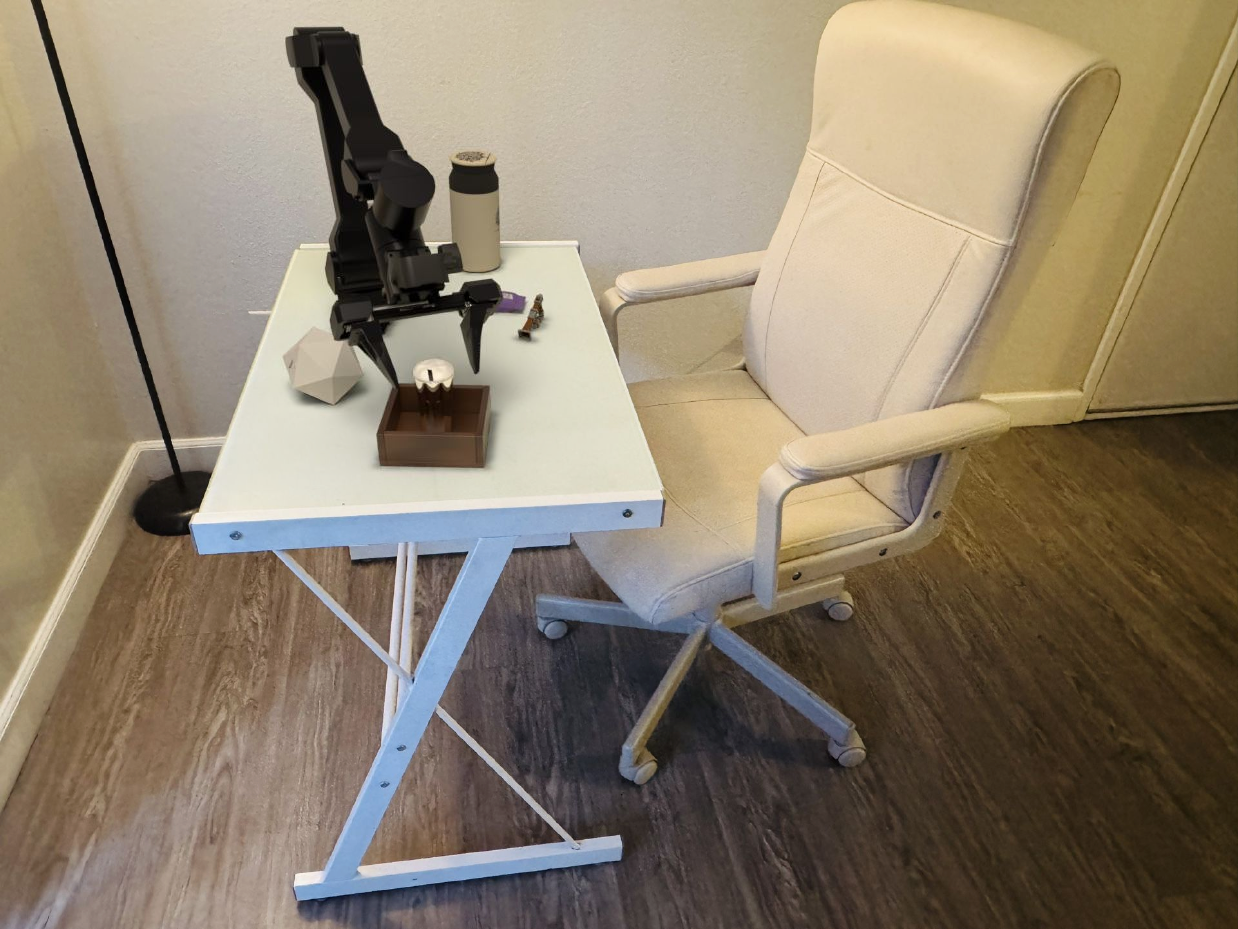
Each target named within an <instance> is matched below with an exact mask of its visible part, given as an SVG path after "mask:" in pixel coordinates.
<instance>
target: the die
mask: <svg viewBox="0 0 1238 929" xmlns="http://www.w3.org/2000/svg"><path fill="white" fill-rule="evenodd" d="M282 360H283V361H284V365H285V368H286V371H287V373H288V374H287V375H288V377H289V380H290V383H291V386H292V388H293V389H295V390H297V391H300V392H302V393H304V394H306V395H309V396H311V397H313V398H316V399H318V400H321V401H323V402H326V403H327V404H329V405H332V406H335V404H336V403H337V402H338V401H339V400H341V399H342V397H343V396H345V394H347V392H348V391H349V390H351V389H352V388H353V387H354V386H355V384H357V383H358V382H359V381H360V380H361V379H362V378H363V377H364V376H365V374H364V371H363V368H362V367H361V366H362V365H361V364H360V361H359V359H358V356H357V353H356V350H355V349H354V346H349V345H348V343H347V340H344V341H335V340H334V338H333V334H332V332H329V331H326V330H323V329H321V328H319V327H316V326H312V327H311V328H310V330H308V331H307V332H306V333H305V334H304V335H303V336H302V337H301V338H300V339H299V340H298V341H297V342H296V343H295V344H294V345H293V346H292V347H290V348H289V350H288V351H287V352H285V353H284V354H283V355H282Z"/></svg>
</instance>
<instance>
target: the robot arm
mask: <svg viewBox="0 0 1238 929" xmlns="http://www.w3.org/2000/svg"><path fill="white" fill-rule="evenodd" d="M284 39H285V43H284V44H285V53H286V58H287V62H288V64H289V67H290V68H292V69H294V74H295V78H296V82H297V85H298V86H299V87H300V88H301V89H302V91H303V92H304V93H305V94H306V96H308V98H309V99H310V101H312V103H313V104H314V109H315V115H316V120H317V125H318V130H319V135H320V140H321V146H322V150H323V156H324V162H325V166H326V171H327V177H328V181H329V186H330V193H331V197H332V203H333V208H334V214H335V221H334V224H333V226H332V230H331V231H330V234H329V237H328V246H329V251H327V253H326V259H325V265H324V272H325V278H326V283H327V285H328V286H329V288H330V289H331V291H332V293H333V295H334V296H337V299H336V300H335V301H334V303H333V305H332V306H331V311H330V316H329V326H330V330H331V333H332V334H333V338H334V340H335V341H344V340H347V343H348V345H349V346H353V347H357V348H359V349H360V350H361V352H362V353H363V354H365V355H366V357H368V358H369V360H371V361H372V363H373V364H374V365H375V366H376V368H377V369H378V370H379V371H380V373H381V374H382V375H383V376H384V378H385V379H386V380H387V381H388V383H389V384H390V386H391V388H392V387H393V388H394V389H398V388H399V383H400V382H399V379H398V374H397V371H396V368H395V366H394V363H393V360H392V358H391V355H390V353H389V349H388V347H387V344H386V342H385V340H384V337H383V336H384V335H385V334H386V332H387V330H388V328H389V326H390V325H391V323H392V322H394V321H402V320H408V319H415V318H421V317H427V316H433V315H440V314H446V313H454V312H457V313H458V316H459V317H461V318H462V320H461V322H460V323H459V327H460V332H461V335H462V338H463V342H464V343H463V344H464V346H465V351H466V354H467V359H468V361H469V365H470V367H471V370H472V372H473V375H478V374H479V373H480V371H481V370H480V367H481V348H482V346H481V345H482V334H483V328H484V324H486V322H487V321H488V319H489V318H490V317H492V316H494V315H495V313H496V312H495V311H496V310H497V308H498V307H499V305H500V303H501V302H502V300H503V299H504V298H503V295H502V291H503V290H502V288H501V285H500V284H499V283H498V282H497V281H496V280H495V279H493V278H483V279H477V280H471V281H470V280H469V281H464V282H463V284H462V286H461V287H460V289H459V291H458V292H459V293H458V294H452V293H451V294H445V295H441V293H440V292H443V291H445V288H446V284H447V283H450V278H449V275H453V274H458V273H462V272H463V271H464V270H463V263H462V257H461V254H460V251H459V248H458V245H457V243H452V242H451V243H443V244H439V245H438V246H437V249H436V250H437V252H435V253H432V252H431V249H430V246H429V245H426V243H425V238H424V235H423V232H422V228H421V226H423V224H424V223H425V221H426V219H427V215H428V213H429V210H430V208H431V204H432V202H433V199H434V196H435V194H436V188H437V186H436V180H435V177H434V175H433V174H432V173H431V171H430V170H429V169H427V167H426V166H425V165H423V164H422V163H421V162H419V161H416V160H414V159H413V157H412V156H411V155H410V154H409V153H408V150H407V149H405V147H404V144H403V141H402V140H401V138H400V135H398V133H396V132H394V131H393V130H392V129H390V128H389V127H387V126H386V125H385V124H384V122H383V119H382V117H381V115H380V111H379V109H378V107H377V102H376V101H375V97H374V96H373V92H372V89H371V87H370V84H369V81H368V78H367V75H366V73H365V70H364V62H363V54H362V48H361V40H360V39H361V38H360V34H356V33H354V32H352V33H351V32H350V31H348V30H345V27H344V26H294V27H293V29H292V35H288V36H285V38H284ZM368 201H369V202H371V201H372V203H373V205H372V206H371V207H370V208H368V203H369V202H368ZM445 283H446V284H445Z"/></svg>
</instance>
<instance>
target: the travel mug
mask: <svg viewBox="0 0 1238 929" xmlns="http://www.w3.org/2000/svg"><path fill="white" fill-rule="evenodd" d="M448 159H449V161H450V163H451V168H452V169H451V171H450V173H449V175H448V190H449V191H448V192H449V209H450V226H451V243H457V245H458V248H459V251H460V254H461V257H462V263H463V271H464V272H469V273H484V272H489V271H493V270H494V269H497V268H499V266H501V225H500V224H501V221H500V220H501V219H500V218H501V216H500V177H499V175H498V173H497V172H496V170H495V166H496V162H497V160H498V158H497V156H496V155H495V154H493V153H491V152H488V151H482V150H460V151H456V152H453V153H451V154H450V155H449V156H448Z"/></svg>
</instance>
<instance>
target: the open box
mask: <svg viewBox="0 0 1238 929" xmlns="http://www.w3.org/2000/svg"><path fill="white" fill-rule="evenodd" d="M491 397H492V396H491V385H487V384H486V385H484V384H454V383H453V393H452V427H451V432H423V426H422V420H421V414H420V408H419V402H418V396H417V391H416V386H415V382H413V383H411V382H409V383H408V382H407V383H406V382H399V388H398V389H394V388H393V387H392V386H391V389H390V392H389V395H388V398H387V401H386V404H385V407H384V409H383V413H382V416H381V419H380V423H379V425H378V428H377V431H376V434H375V435H376V445H377V452H378V461H379V466H381V467H382V466H383V467H433V468H434V467H436V468H437V467H439V468H485V462H486V455H487V447H488V440H489V433H490V432H489V431H490V426H491V417H492V403H491V402H492V400H491Z"/></svg>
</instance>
